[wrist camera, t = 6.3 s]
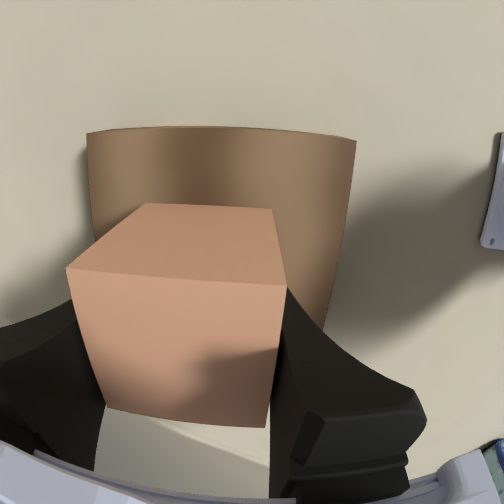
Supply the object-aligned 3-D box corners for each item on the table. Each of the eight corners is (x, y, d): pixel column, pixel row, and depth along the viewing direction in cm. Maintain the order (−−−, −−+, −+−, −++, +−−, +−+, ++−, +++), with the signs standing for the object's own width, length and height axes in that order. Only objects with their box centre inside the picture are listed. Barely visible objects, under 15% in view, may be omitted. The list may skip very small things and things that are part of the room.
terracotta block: (271, 209, 12) (286, 285, 6) (261, 317, 14) (264, 427, 8) (145, 203, 12) (65, 268, 6) (153, 309, 13) (107, 407, 8)
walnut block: (338, 136, 14) (356, 140, 12) (308, 325, 20) (315, 356, 17) (113, 129, 14) (86, 133, 12) (131, 313, 19) (116, 341, 17)
